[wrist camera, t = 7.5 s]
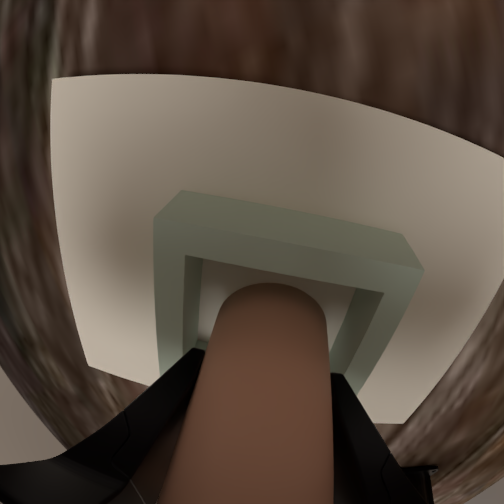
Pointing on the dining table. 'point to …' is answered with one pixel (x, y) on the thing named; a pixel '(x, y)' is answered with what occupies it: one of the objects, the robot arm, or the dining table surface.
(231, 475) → the terracotta peg
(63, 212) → the socket board
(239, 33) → the dining table surface
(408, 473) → the robot arm
